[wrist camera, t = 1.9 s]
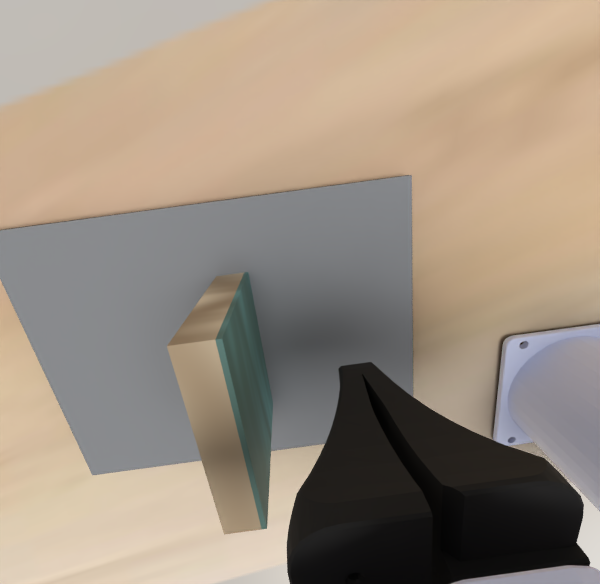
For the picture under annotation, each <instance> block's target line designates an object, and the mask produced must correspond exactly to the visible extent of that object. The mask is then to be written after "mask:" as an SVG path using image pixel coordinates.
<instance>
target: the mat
mask: <svg viewBox="0 0 600 584" xmlns="http://www.w3.org/2000/svg"><path fill="white" fill-rule="evenodd" d="M244 272H248V273H249V278H250V284H251V289H252V294H253V299H254V305H255V310H256V315H257V321H258V326H259V331H260V336H261V342H262V347H263V352H264V358H265V363H266V368H267V373H268V379H269V384H270V389H271V395H272V400H273V417H272V437H271V451H275V450H282V449H289V448H297V447H304V446H311V445H319V444H325V443H326V440H327V438H328V435H329V433H330V430H331V427H332V424H333V421H334V417H335V413H336V408H337V404H338V399H339V391H340V380H339V370H338V369H339V368H340V366H344V365H351V364H359V363H366V362H372V363H373V364H374V365H375V366H377V367H378V368H379V369H380V370H381V371H382V372H383V373H384V374H385V375H387V376H388V377H389V378H390V379H391V380H392V381H393V382H395V383H396V384H397V385H398V386H400V387H401V388H402V389H403V390H404V391H406V392H407V393H408V394H410V395H411V396H412V397H413V316H412V175H406V176H399V177H391V178H384V179H377V180H369V181H362V182H354V183H347V184H339V185H332V186H325V187H317V188H310V189H302V190H295V191H287V192H280V193H273V194H265V195H258V196H250V197H243V198H235V199H228V200H221V201H213V202H206V203H198V204H191V205H183V206H176V207H169V208H161V209H154V210H146V211H139V212H131V213H124V214H117V215H109V216H102V217H94V218H87V219H79V220H72V221H65V222H57V223H50V224H42V225H35V226H27V227H20V228H12V229H5V230H0V279H1V281H2V284H3V286H4V288H5V290H6V292H7V294H8V296H9V299H10V301H11V303H12V305H13V307H14V309H15V311H16V313H17V316H18V318H19V320H20V322H21V324H22V326H23V328H24V330H25V333H26V335H27V337H28V339H29V341H30V343H31V345H32V347H33V350H34V352H35V354H36V356H37V358H38V360H39V362H40V365H41V367H42V369H43V371H44V373H45V375H46V377H47V379H48V382H49V384H50V386H51V388H52V390H53V392H54V394H55V396H56V399H57V401H58V403H59V405H60V407H61V409H62V411H63V413H64V416H65V418H66V420H67V422H68V424H69V426H70V428H71V431H72V433H73V435H74V437H75V439H76V441H77V443H78V445H79V448H80V450H81V452H82V454H83V456H84V458H85V460H86V462H87V465H88V467H89V469H90V471H91V473H92V475H98V474H106V473H113V472H120V471H128V470H135V469H142V468H150V467H157V466H164V465H172V464H179V463H186V462H194V461H201V456H200V453H199V450H198V447H197V443H196V440H195V437H194V433H193V430H192V427H191V424H190V420H189V417H188V414H187V410H186V407H185V404H184V401H183V397H182V394H181V391H180V388H179V384H178V381H177V378H176V374H175V371H174V368H173V365H172V361H171V358H170V355H169V352H168V348H167V345H168V344H169V342H170V341H171V340H172V338H173V337H174V335H175V334H176V333H177V331H178V330H179V328H180V327H181V325H182V324H183V323H184V321H185V320H186V318H187V317H188V316H189V314H190V313H191V311H192V310H193V308H194V307H195V306H196V304H197V303H198V301H199V300H200V299H201V297H202V296H203V294H204V293H205V292H206V290H207V289H208V287H209V286H210V284H211V283H212V282H213V280H214V279H215V277H216V276H222V275H229V274H237V273H244Z"/></svg>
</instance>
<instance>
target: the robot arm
mask: <svg viewBox="0 0 600 584" xmlns="http://www.w3.org/2000/svg"><path fill="white" fill-rule="evenodd" d="M523 341H524V342H523ZM521 342H523V344H521V345H520V343H521ZM338 370H339V380H340V391H339V399H338V404H337V408H336V413H335V417H334V421H333V424H332V427H331V430H330V433H329V435H328V438H327V440H326V443H325V445H324V448H323V450H322V452H321V454H320V456H319V458H318V460H317V462H316V464H315V465H314V467H313V469H312V471H311V473H310V474H309V476H308V478H307V479H306V481H305V482H304V484H303V485H302V487H301V488H300V490H299V491H298V493H297V496H296V499H295V503H294V507H293V511H292V515H291V519H290V525H289V530H288V539H287V567H288V576H289V580H290V584H600V571H599V570H597V569H595V568H593V567H590V566H589V565H590V561H589V558H588V557H587V556H586V554H585V553H584V552H583V551H582V549H581V548H580V547H579V546H578V545H577V543H576V542H577V538H578V534H579V530H580V526H581V523H582V518H583V507H584V504H583V502H582V499H581V496H580V495H579V494H578V493H577V492H576V491H575V489H573V487H572V486H571V485H570V484H569V483H568V482H567V481H566V480H565V478H564V477H563V476H562V475H561V474H560V473H559V472H558V471H557V470H556V469H555V468H554V467H553V466H552V465H551V464H550V463H549V462H548V461H547V460H546V459H545V458H542V457H539V456H536V455H533V454H530V453H527V452H524V451H521V450H518V449H515V448H512V447H509V446H510V445H518V444H525V443H532V442H534V443H535V444H536V445H537V446H538V447H539V448H540V449H541V450H542V451H543V452H544V453H545V454H546V455H547V456H548V457H549V459H550V460H551V461H552V462H553V463H554V464H555V465H556V466H557V467H558V468H559V469H560V470H561V471H562V472H563V473H564V474H565V475H566V476H567V477H568V478H569V479H570V481H571V482H572V483H573V484H574V485H575V486H576V487H577V488H578V489H579V490H580V491H581V492H582V493H583V494H584V495H585V496H586V497H587V498H588V499H589V500H590V502H592V503H593V505H594V506H595V507H596V508H597V509H598V510H599V511H600V324H594V325H587V326H580V327H572V328H565V329H558V330H550V331H543V332H536V333H528V334H521V335H513V336H509V337H508V338H506V339H505V340H504V342H503V347H502V356H501V366H500V376H499V385H498V395H497V405H496V414H495V424H494V434H493V440H491V439H489V438H486V437H484V436H482V435H479V434H477V433H475V432H472V431H470V430H468V429H466V428H464V427H462V426H460V425H458V424H456V423H454V422H452V421H450V420H449V419H447V418H445V417H443V416H442V415H440V414H438V413H437V412H435V411H433V410H431V409H430V408H428V407H427V406H425V405H424V404H422V403H421V402H419V401H418V400H416V399H415V398H414V397H412V396H411V395H410V394H408V393H407V392H406V391H404V390H403V389H402V388H401V387H400V386H398V385H397V384H396V383H395V382H393V381H392V380H391V379H390V378H389V377H388V376H387V375H385V374H384V373H383V372H382V371H381V370H380V369H379V368H378V367H377V366H375V365H374V364H373V363H372V362H366V363H359V364H351V365H344V366H340V368H339V369H338Z"/></svg>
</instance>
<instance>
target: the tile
mask: <svg viewBox="0 0 600 584" xmlns="http://www.w3.org/2000/svg"><path fill="white" fill-rule="evenodd" d="M167 348H168V352H169V355H170V358H171V361H172V365H173V368H174V371H175V374H176V378H177V381H178V384H179V388H180V391H181V394H182V397H183V401H184V404H185V407H186V410H187V414H188V417H189V420H190V424H191V427H192V430H193V433H194V437H195V440H196V443H197V447H198V450H199V453H200V456H201V460H202V463H203V466H204V469H205V473H206V476H207V479H208V483H209V486H210V489H211V492H212V496H213V499H214V502H215V505H216V509H217V512H218V515H219V519H220V522H221V525H222V528H223V532H224V534H230V533H238V532H245V531H252V530H260V529H267V517H268V497H269V477H270V457H271V437H272V417H273V400H272V395H271V389H270V384H269V379H268V373H267V368H266V363H265V358H264V352H263V347H262V342H261V336H260V331H259V326H258V321H257V315H256V310H255V305H254V299H253V294H252V289H251V284H250V278H249V273H248V272H244V273H237V274H229V275H222V276H216V277H215V279H214V280H213V282H212V283H211V284H210V286H209V287H208V289H207V290H206V292H205V293H204V294H203V296H202V297H201V299H200V300H199V301H198V303H197V304H196V306H195V307H194V308H193V310H192V311H191V313H190V314H189V316H188V317H187V318H186V320H185V321H184V323H183V324H182V325H181V327H180V328H179V330H178V331H177V333H176V334H175V335H174V337H173V338H172V340H171V341H170V342H169V344H168V345H167Z"/></svg>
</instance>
